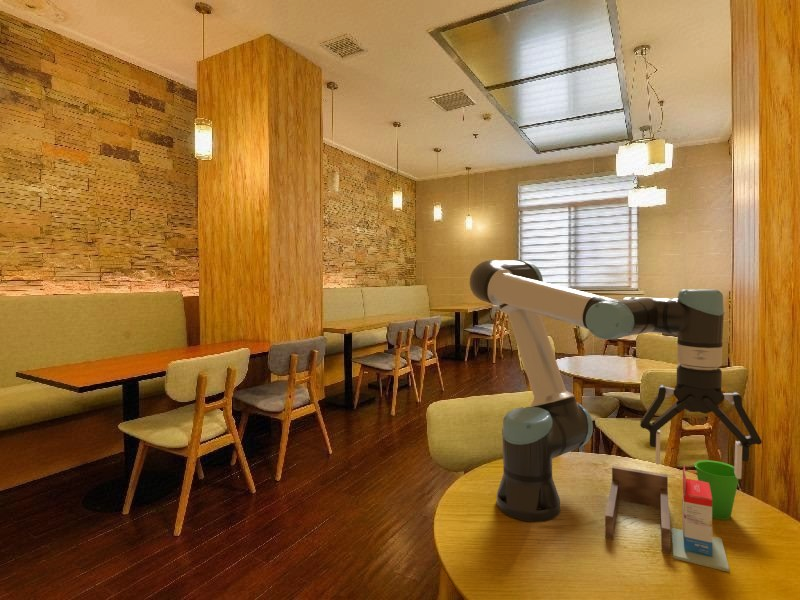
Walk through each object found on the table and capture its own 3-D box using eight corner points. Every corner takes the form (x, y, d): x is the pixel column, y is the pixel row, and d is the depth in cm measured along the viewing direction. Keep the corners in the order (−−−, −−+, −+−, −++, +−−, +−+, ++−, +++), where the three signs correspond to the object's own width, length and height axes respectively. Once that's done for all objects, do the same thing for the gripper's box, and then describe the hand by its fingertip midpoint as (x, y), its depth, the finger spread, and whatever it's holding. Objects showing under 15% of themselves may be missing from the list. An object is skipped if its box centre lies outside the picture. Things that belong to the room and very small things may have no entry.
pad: (673, 558, 88) (673, 555, 88) (671, 530, 98) (671, 527, 98) (729, 572, 84) (729, 568, 84) (721, 541, 93) (721, 538, 93)
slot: (605, 537, 96) (605, 501, 95) (612, 496, 113) (612, 465, 113) (670, 553, 90) (670, 515, 89) (667, 506, 107) (667, 474, 107)
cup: (743, 528, 98) (744, 479, 97) (694, 517, 102) (694, 471, 102) (738, 510, 105) (739, 464, 105) (693, 500, 110) (693, 457, 109)
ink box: (713, 558, 87) (713, 485, 86) (683, 550, 89) (683, 479, 89) (709, 535, 94) (709, 468, 94) (681, 529, 97) (682, 464, 96)
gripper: (628, 363, 92) (626, 463, 93) (784, 376, 79) (779, 490, 81) (629, 357, 98) (628, 450, 100) (774, 368, 86) (770, 474, 87)
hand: (696, 468), depth 90 cm, fingers open, 13 cm apart
